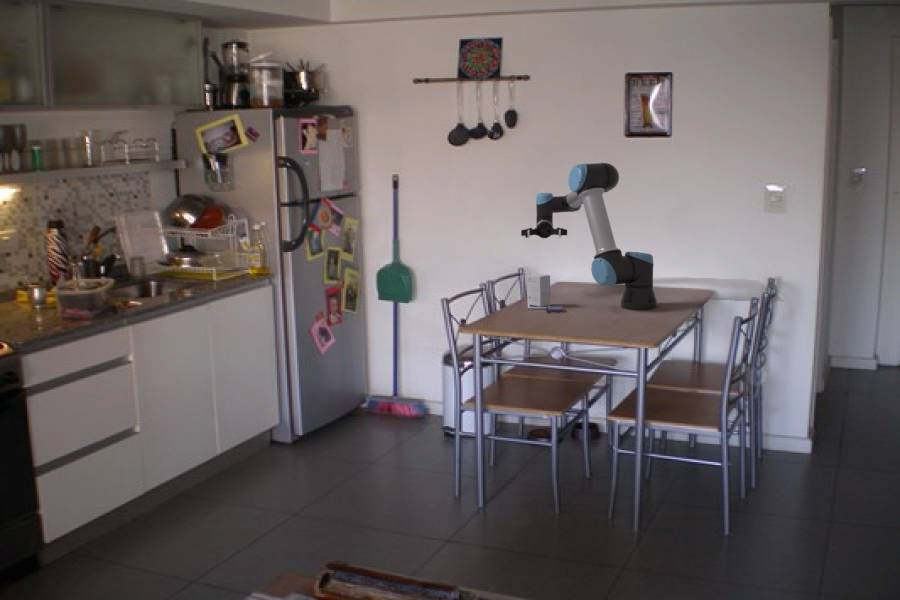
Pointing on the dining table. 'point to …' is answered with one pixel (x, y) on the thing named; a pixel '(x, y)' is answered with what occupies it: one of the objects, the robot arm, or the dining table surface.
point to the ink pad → (555, 309)
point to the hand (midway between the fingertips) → (544, 234)
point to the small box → (538, 290)
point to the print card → (537, 307)
